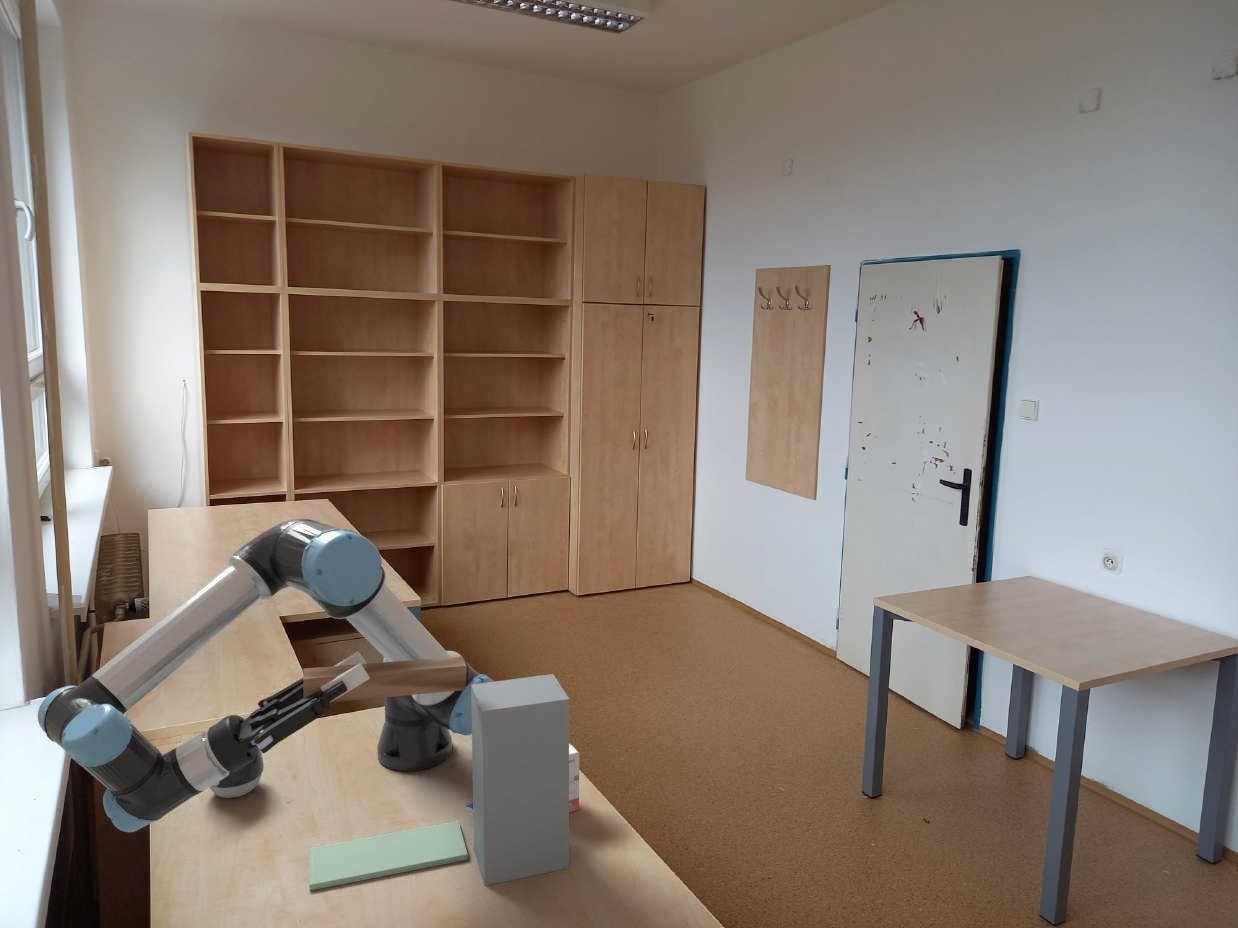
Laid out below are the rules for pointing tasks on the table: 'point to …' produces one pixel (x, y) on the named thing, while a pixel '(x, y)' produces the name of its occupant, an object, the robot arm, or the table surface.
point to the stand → (520, 777)
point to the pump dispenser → (240, 777)
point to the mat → (385, 854)
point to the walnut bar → (394, 678)
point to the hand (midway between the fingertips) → (363, 664)
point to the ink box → (573, 779)
